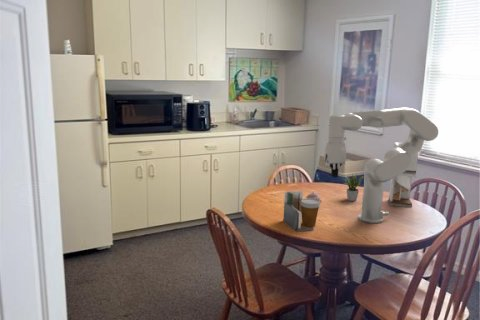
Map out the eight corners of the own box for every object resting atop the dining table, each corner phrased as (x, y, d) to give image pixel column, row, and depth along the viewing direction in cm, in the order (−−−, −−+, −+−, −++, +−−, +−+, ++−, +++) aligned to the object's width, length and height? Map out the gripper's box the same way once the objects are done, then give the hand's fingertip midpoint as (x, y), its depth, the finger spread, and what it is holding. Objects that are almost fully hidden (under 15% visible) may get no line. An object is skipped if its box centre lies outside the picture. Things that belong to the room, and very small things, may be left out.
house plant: (368, 204, 234) (371, 176, 231) (344, 203, 234) (346, 176, 231) (361, 197, 248) (364, 171, 245) (339, 196, 248) (341, 170, 245)
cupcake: (309, 204, 231) (310, 187, 229) (324, 208, 225) (325, 191, 223) (300, 208, 224) (301, 191, 222) (315, 212, 218) (317, 194, 216)
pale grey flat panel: (289, 219, 204) (291, 192, 202) (300, 229, 192) (302, 200, 189) (287, 219, 204) (289, 192, 201) (298, 229, 192) (300, 200, 189)
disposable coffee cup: (322, 224, 200) (323, 201, 198) (311, 229, 193) (313, 205, 191) (306, 219, 207) (307, 197, 204) (295, 224, 200) (296, 200, 197)
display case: (390, 205, 234) (397, 145, 227) (388, 199, 244) (394, 142, 237) (411, 207, 231) (418, 146, 224) (408, 201, 241) (415, 143, 234)
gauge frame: (300, 219, 207) (302, 190, 204) (314, 230, 193) (316, 199, 190) (282, 220, 205) (284, 191, 202) (295, 231, 190) (297, 201, 187)
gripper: (344, 138, 206) (343, 173, 210) (318, 140, 201) (317, 176, 205) (353, 140, 199) (351, 176, 203) (326, 142, 194) (325, 179, 198)
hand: (334, 176), depth 204 cm, fingers closed
